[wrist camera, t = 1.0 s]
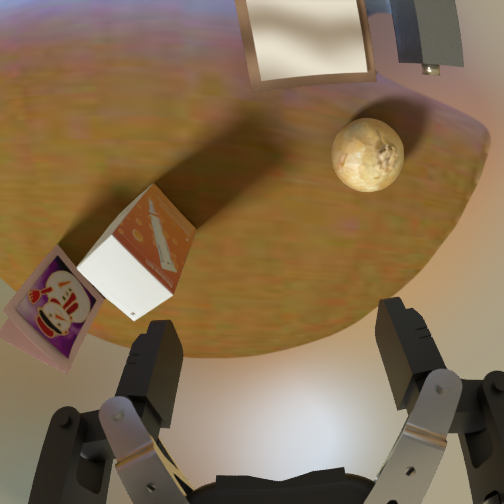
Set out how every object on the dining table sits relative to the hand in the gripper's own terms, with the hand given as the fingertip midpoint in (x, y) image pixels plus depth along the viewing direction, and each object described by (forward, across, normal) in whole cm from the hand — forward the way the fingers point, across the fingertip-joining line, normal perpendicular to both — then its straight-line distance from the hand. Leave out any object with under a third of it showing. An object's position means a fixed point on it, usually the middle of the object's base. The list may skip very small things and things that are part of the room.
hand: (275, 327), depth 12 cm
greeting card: (+26, +32, +14) cm, 44 cm away
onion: (+26, -11, +1) cm, 29 cm away
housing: (+26, -18, -13) cm, 35 cm away
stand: (+26, -6, -13) cm, 30 cm away
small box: (+26, +14, +7) cm, 31 cm away
